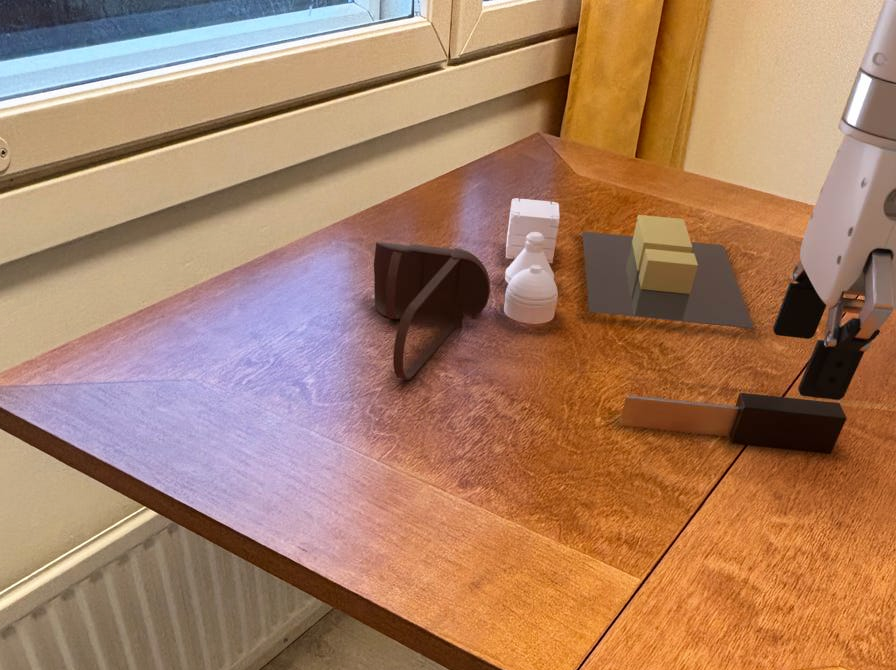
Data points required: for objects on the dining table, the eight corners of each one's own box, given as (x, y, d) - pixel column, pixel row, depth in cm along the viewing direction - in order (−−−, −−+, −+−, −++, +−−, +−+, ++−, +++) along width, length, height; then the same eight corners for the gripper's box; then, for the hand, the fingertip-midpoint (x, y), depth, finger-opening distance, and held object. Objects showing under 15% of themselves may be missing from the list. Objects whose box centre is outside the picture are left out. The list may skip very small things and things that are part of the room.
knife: (823, 440, 74) (840, 402, 71) (830, 456, 72) (847, 418, 69) (618, 418, 74) (627, 380, 72) (620, 434, 72) (629, 395, 70)
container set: (504, 249, 98) (510, 196, 95) (551, 253, 98) (560, 201, 94) (499, 331, 84) (507, 273, 80) (555, 336, 84) (565, 279, 80)
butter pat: (686, 282, 92) (694, 253, 90) (689, 294, 90) (698, 265, 88) (638, 277, 93) (645, 248, 91) (640, 289, 91) (647, 259, 88)
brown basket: (373, 297, 88) (375, 225, 83) (490, 313, 87) (498, 241, 82) (328, 386, 75) (327, 306, 70) (463, 406, 74) (472, 327, 69)
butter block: (676, 246, 99) (684, 218, 97) (684, 276, 94) (692, 247, 92) (631, 242, 99) (638, 214, 97) (637, 271, 94) (644, 242, 92)
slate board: (720, 253, 101) (723, 244, 101) (751, 338, 86) (754, 328, 86) (580, 239, 102) (582, 230, 101) (586, 321, 87) (588, 311, 86)
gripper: (1021, 160, 50) (885, 429, 62) (926, 84, 62) (828, 320, 74) (886, 145, 50) (777, 416, 62) (818, 72, 62) (737, 310, 74)
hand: (804, 364), depth 68 cm, fingers open, 9 cm apart
